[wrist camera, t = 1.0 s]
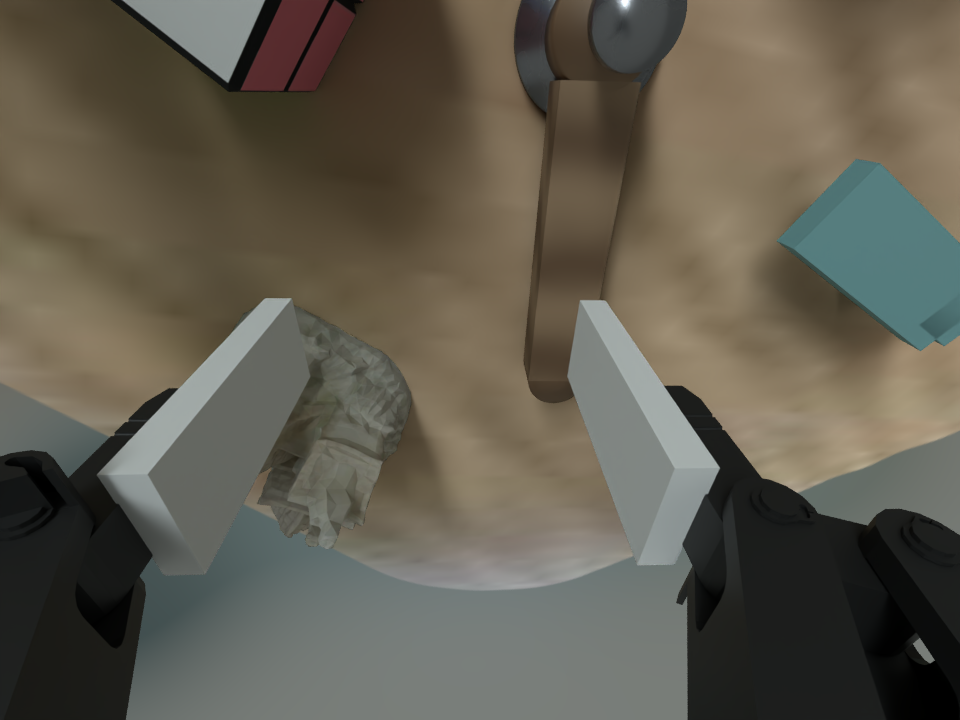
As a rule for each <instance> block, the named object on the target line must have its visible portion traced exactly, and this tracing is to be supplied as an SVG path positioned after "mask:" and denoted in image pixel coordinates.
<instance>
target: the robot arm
mask: <svg viewBox="0 0 960 720" xmlns="http://www.w3.org/2000/svg"><path fill="white" fill-rule="evenodd" d="M567 377H568V379H569V382H570V385H571V387H572V390H573V393H574V396H575V398H576V401H577V404H578V406H579V409H580V412H581V414H582V417H583V420H584V423H585V425H586V428H587V431H588V433H589V436H590V439H591V442H592V444H593V447H594V450H595V452H596V455H597V458H598V460H599V463H600V466H601V469H602V471H603V474H604V477H605V479H606V482H607V485H608V488H609V490H610V493H611V496H612V498H613V501H614V504H615V506H616V509H617V512H618V515H619V517H620V520H621V523H622V525H623V528H624V531H625V534H626V536H627V539H628V542H629V544H630V547H631V550H632V553H633V555H634V558H635V561H636V563H637V565H675V563H676V561H677V559H678V556H679V554H680V552H681V550H682V548H683V547H684V549H685V551H686V553H687V555H688V557H689V559H690V561H691V563H692V565H693V566H692V568H691V570H690V572H689V574H688V576H687V578H686V580H685V582H684V584H683V586H682V588H681V590H680V592H679V594H678V598H677V602H676V603H679V604H681V605H682V604H683V602H684V600H685V599H686V597H687V629H688V630H687V641H688V642H687V649H688V650H687V651H688V653H687V656H688V657H687V658H688V720H960V535H959V534H957V533H955V532H954V531H952V530H950V529H949V528H947V527H946V526H944V525H943V524H941V523H939V522H937V521H935V520H933V519H930V518H928V517H926V516H923V515H921V514H918V513H915V512H911V511H907V510H902V509H885V510H883V511H882V512H880V513H878V514H877V515H876V516H875V517H874V518H873V520H872V521H871V522H870V523H869V525H868V526H867V525H863V524H859V523H854V522H850V521H846V520H842V519H838V518H834V517H829V516H825V515H821V514H818V513H817V511H816V510H815V508H814V507H813V506H812V505H811V504H810V503H808V501H807V500H806V499H805V498H803V497H802V496H801V495H799V494H798V493H796V492H795V491H793V490H791V489H790V488H788V487H787V486H784V485H782V484H779V483H777V482H774V481H772V480H768V479H762V478H761V476H760V475H759V474H758V472H757V471H756V470H755V469H754V467H753V466H752V465H751V463H750V462H749V461H748V460H747V458H746V457H745V456H744V454H743V453H742V452H741V451H740V449H739V448H738V447H737V445H736V444H735V443H734V441H733V440H732V439H731V438H730V436H729V435H728V434H727V432H726V431H725V430H722V426H721V425H720V423H719V422H718V421H717V420H716V418H715V417H712V413H711V412H710V411H709V409H708V408H707V407H706V405H705V404H704V403H703V401H702V400H701V399H700V398H699V397H697V396H696V395H694V394H693V393H691V392H690V391H689V390H687V389H686V388H684V387H683V386H663V384H662V383H661V381H660V380H659V378H658V377H657V375H656V374H655V372H654V371H653V369H652V368H651V367H650V365H649V364H648V362H647V361H646V359H645V358H644V356H643V355H642V353H641V352H640V350H639V349H638V348H637V346H636V345H635V343H634V342H633V340H632V339H631V337H630V336H629V334H628V333H627V331H626V330H625V329H624V327H623V326H622V324H621V323H620V321H619V320H618V318H617V317H616V315H615V314H614V312H613V311H612V310H611V308H610V307H609V305H608V304H607V302H606V301H605V300H580V303H579V309H578V315H577V321H576V327H575V333H574V339H573V345H572V351H571V357H570V363H569V370H568V376H567ZM309 378H310V373H309V369H308V364H307V360H306V356H305V352H304V348H303V343H302V339H301V335H300V331H299V326H298V322H297V318H296V314H295V309H294V305H293V301H292V298H265V299H264V300H263V301H262V302H261V303H260V304H259V305H258V306H257V307H256V308H255V309H254V310H253V311H252V312H251V313H250V314H249V315H248V316H247V318H246V319H245V320H244V321H243V322H242V323H241V324H240V325H239V326H238V327H237V328H236V329H235V330H234V331H233V332H232V333H231V334H230V335H229V336H228V337H227V339H226V340H225V341H224V342H223V343H222V344H221V345H220V346H219V347H218V348H217V349H216V350H215V351H214V352H213V353H212V354H211V355H210V356H209V357H208V358H207V360H206V361H205V362H204V363H203V364H202V365H201V366H200V367H199V368H198V369H197V370H196V371H195V372H194V373H193V374H192V375H191V376H190V377H189V378H188V379H187V380H186V382H185V383H184V384H183V385H182V386H181V387H180V388H169V389H167V390H165V391H164V392H162V393H160V394H159V395H157V396H155V397H154V398H152V399H150V400H149V401H147V402H145V403H144V404H143V405H142V406H141V407H140V408H139V409H138V410H137V411H136V412H135V413H134V414H133V415H132V416H131V417H130V418H129V422H125V423H124V424H123V425H122V426H121V427H120V428H119V429H118V430H117V431H116V432H115V435H114V436H111V437H110V438H109V439H108V440H107V441H106V442H105V443H103V444H102V446H101V447H100V448H99V449H98V450H96V451H95V452H94V453H93V454H92V455H91V456H90V457H89V458H88V459H87V460H86V461H85V462H84V463H83V464H82V465H81V466H80V467H79V468H78V469H77V470H76V471H75V472H74V473H73V474H72V475H71V476H70V477H69V478H67V476H66V475H65V473H64V472H63V471H62V469H61V468H60V466H59V465H58V464H57V463H56V461H55V460H54V458H52V457H51V456H50V455H49V454H48V453H47V452H41V451H33V450H30V451H23V452H16V453H10V454H7V455H4V456H1V457H0V720H126V715H127V708H128V702H129V695H130V689H131V684H132V677H133V671H134V665H135V659H136V651H137V646H138V640H139V634H140V628H141V621H142V615H143V609H144V603H145V596H146V591H145V583H144V582H143V581H142V579H141V578H140V574H141V572H142V571H143V570H144V568H145V567H146V565H147V564H148V562H149V561H150V559H151V558H153V560H154V561H155V563H156V564H157V566H158V567H159V568H160V570H161V571H162V573H163V575H199V574H200V575H202V574H203V575H204V574H206V572H207V570H208V568H209V566H210V564H211V563H212V561H213V559H214V557H215V555H216V553H217V551H218V549H219V547H220V546H221V544H222V542H223V540H224V538H225V536H226V534H227V533H228V530H229V529H230V527H231V525H232V523H233V521H234V519H235V517H236V515H237V514H238V512H239V510H240V508H241V506H242V504H243V502H244V501H245V499H246V497H247V495H248V493H249V491H250V489H251V487H252V486H253V484H254V482H255V480H256V478H257V476H258V474H259V472H260V470H261V469H262V467H263V465H264V463H265V461H266V459H267V457H268V455H269V454H270V452H271V450H272V448H273V446H274V444H275V442H276V440H277V438H278V437H279V435H280V433H281V431H282V429H283V427H284V425H285V423H286V422H287V420H288V418H289V416H290V414H291V412H292V410H293V408H294V406H295V405H296V403H297V401H298V399H299V397H300V395H301V393H302V391H303V390H304V388H305V386H306V384H307V382H308V380H309ZM919 638H920V639H921V640H922V641H923V643H924V644H925V646H926V648H927V649H928V651H929V652H930V653H931V655H932V657H933V658H934V660H935V661H933V662H932V663H928V662H927V661H925V660H924V659H923V658H922V656H921V655H920V654H919V653H918V651H917V650H916V648H915V647H914V645H913V643H914V642H915V641H916V640H918V639H919Z"/></svg>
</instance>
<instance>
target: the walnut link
mask: <svg viewBox="0 0 960 720" xmlns="http://www.w3.org/2000/svg"><path fill="white" fill-rule="evenodd" d="M591 2H592V0H556V1H555V3H554V5H553V7H552V9H551V11H550V14H549V17H548V20H547V24H546V29H545V39H544V44H545V53H546V58H547V62H548V65H549V67H550V69H551V71H552V73H553V75H554V76H555V77H556V79H557V80H556V81H550V84H549V95H548V106H547V116H546V127H545V138H544V148H543V159H542V169H541V180H540V191H539V201H538V212H537V222H536V233H535V244H534V254H533V265H532V276H531V286H530V297H529V307H528V318H527V329H526V339H525V350H524V366H525V371H526V375H527V380H528V384H529V388H530V391H531V392H532V394H533V395H534V396H535V397H536V398H537V399H539V400H541V401H544V402H548V403H558V402H563V401H566V400H568V399H570V398H572V397H573V396H574V393H573V390H572V387H571V385H570V382H569V379H568V377H567V376H568V370H569V363H570V357H571V351H572V345H573V339H574V333H575V327H576V321H577V315H578V309H579V303H580V300H600V294H601V289H602V284H603V279H604V274H605V268H606V263H607V258H608V253H609V248H610V242H611V237H612V232H613V227H614V222H615V216H616V211H617V206H618V201H619V195H620V190H621V185H622V180H623V175H624V169H625V164H626V159H627V154H628V149H629V143H630V138H631V133H632V128H633V123H634V117H635V112H636V107H637V102H638V96H639V91H640V86H641V82H632V81H633V80H634V79H635V78H637V77H638V76H639V75H640V73H641V72H638V73H631V74H618V73H614V72H612V71H609V70H607V69H606V68H605V67H603V66H602V65H601V64H600V63H599V62H598V60H597V59H596V58H595V56H594V54H593V52H592V50H591V47H590V44H589V40H588V33H587V23H588V14H589V9H590V6H591Z"/></svg>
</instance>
